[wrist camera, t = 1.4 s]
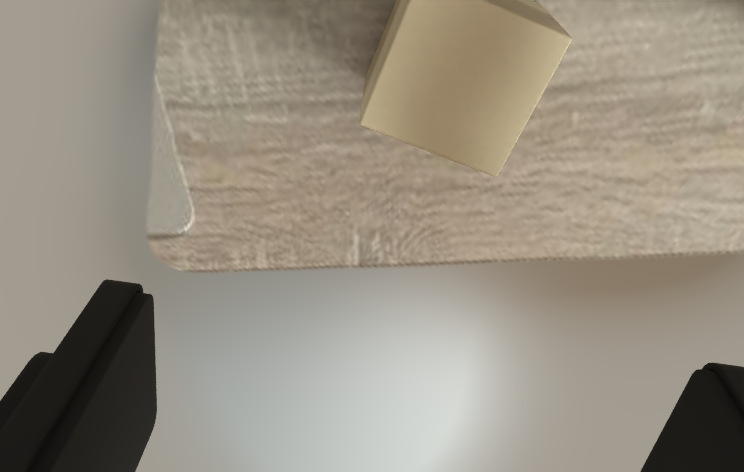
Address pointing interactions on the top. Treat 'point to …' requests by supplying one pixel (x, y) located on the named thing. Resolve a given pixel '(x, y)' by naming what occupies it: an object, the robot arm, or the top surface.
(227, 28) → the top surface
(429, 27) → the toy block
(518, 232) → the top surface
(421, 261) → the top surface
